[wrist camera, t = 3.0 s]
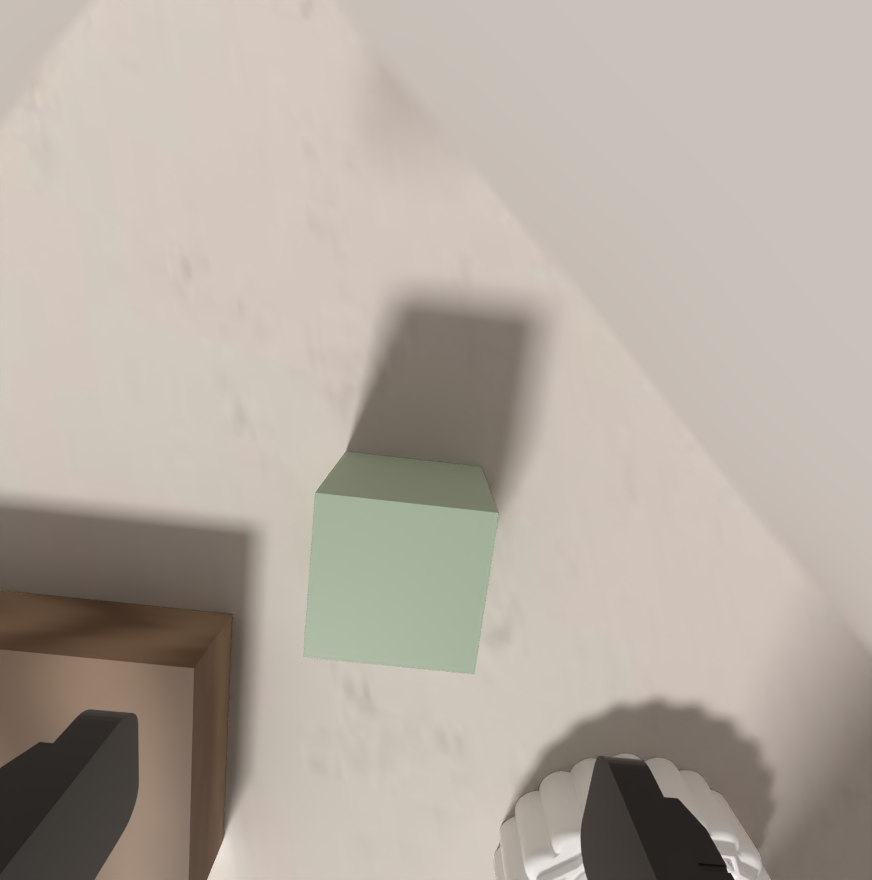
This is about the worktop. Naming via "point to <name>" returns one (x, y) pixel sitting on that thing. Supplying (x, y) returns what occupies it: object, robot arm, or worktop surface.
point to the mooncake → (561, 811)
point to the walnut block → (133, 691)
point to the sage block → (400, 563)
